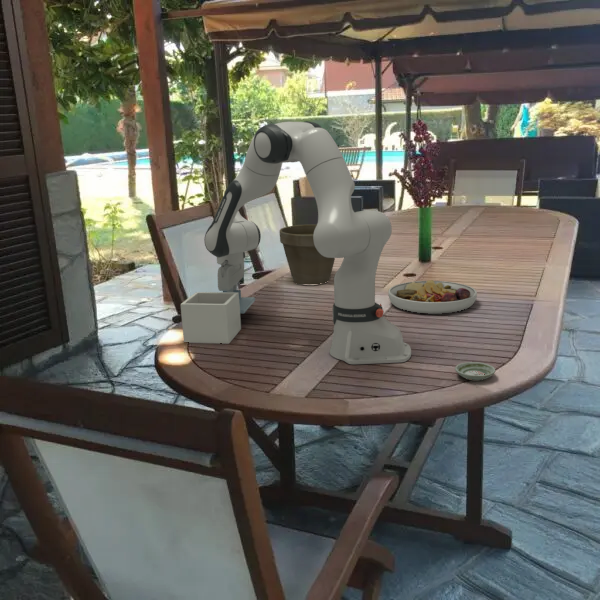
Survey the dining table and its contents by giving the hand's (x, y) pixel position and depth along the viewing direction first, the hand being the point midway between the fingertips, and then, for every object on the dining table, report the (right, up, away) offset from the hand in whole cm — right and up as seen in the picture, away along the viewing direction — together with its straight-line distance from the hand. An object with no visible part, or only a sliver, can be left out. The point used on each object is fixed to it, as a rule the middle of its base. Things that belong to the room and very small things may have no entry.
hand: (232, 297), depth 219 cm
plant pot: (+28, +6, +42) cm, 51 cm away
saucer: (+66, -20, -60) cm, 92 cm away
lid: (-1, -3, -5) cm, 6 cm away
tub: (-4, -12, -21) cm, 24 cm away
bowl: (+69, -3, +5) cm, 69 cm away
